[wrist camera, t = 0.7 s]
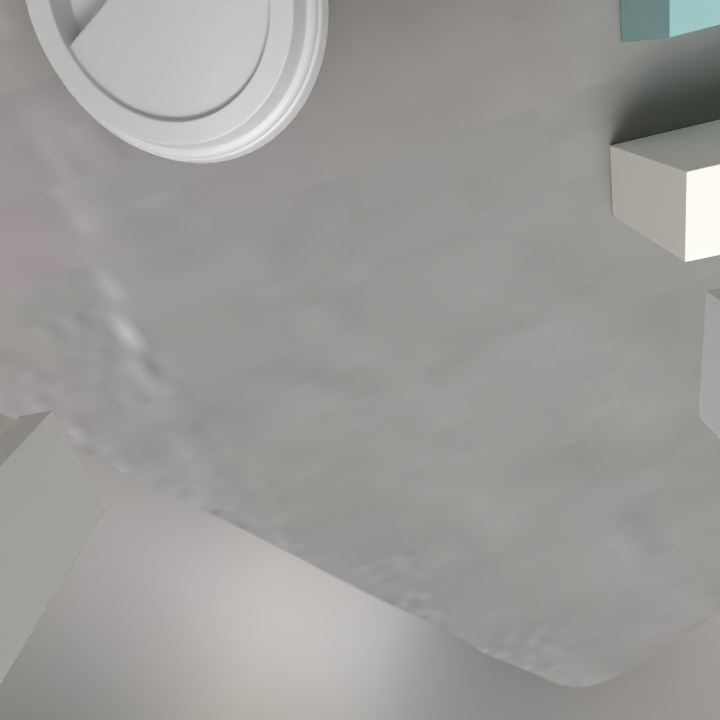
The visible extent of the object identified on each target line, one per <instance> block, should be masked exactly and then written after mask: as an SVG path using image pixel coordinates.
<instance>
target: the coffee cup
mask: <svg viewBox="0 0 720 720" xmlns="http://www.w3.org/2000/svg"><path fill="white" fill-rule="evenodd" d="M26 4H27V8H28V12H29V15H30V18H31V21H32V24H33V27H34V30H35V32H36V35H37V37H38V39H39V42H40V44H41V46H42V48H43V50H44V52H45V54H46V56H47V57H48V59H49V61H50V63H51V64H52V66H53V68H54V69H55V71H56V73H57V74H58V76H59V77H60V79H61V80H62V82H63V83H64V85H65V86H66V87H67V89H68V90H69V91H70V93H71V94H72V95H73V96H74V98H75V99H76V100H77V101H78V102H79V103H80V104H81V106H82V107H83V108H84V109H85V110H86V111H87V112H88V113H89V114H90V115H91V116H92V117H93V118H94V119H96V120H97V121H98V122H99V123H100V124H101V125H103V126H104V127H105V128H106V129H108V130H109V131H110V132H112V133H113V134H115V135H116V136H118V137H119V138H121V139H122V140H124V141H126V142H127V143H129V144H131V145H133V146H135V147H137V148H139V149H141V150H144V151H146V152H149V153H151V154H154V155H157V156H160V157H163V158H167V159H170V160H175V161H181V162H188V163H213V162H220V161H226V160H230V159H234V158H237V157H240V156H243V155H245V154H248V153H250V152H252V151H254V150H256V149H258V148H260V147H261V146H263V145H265V144H266V143H268V142H269V141H270V140H272V139H273V138H274V137H276V136H277V135H278V134H279V133H280V132H281V131H282V130H283V129H284V128H285V127H286V126H287V125H288V124H289V123H290V122H291V121H292V120H293V119H294V117H295V116H296V115H297V113H298V112H299V111H300V109H301V108H302V106H303V105H304V103H305V101H306V100H307V98H308V96H309V94H310V92H311V90H312V88H313V86H314V84H315V81H316V79H317V76H318V73H319V70H320V67H321V64H322V60H323V56H324V52H325V47H326V41H327V33H328V18H329V7H328V0H26Z"/></svg>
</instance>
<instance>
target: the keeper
mask: <svg viewBox="0 0 720 720" xmlns="http://www.w3.org/2000/svg"><path fill="white" fill-rule="evenodd" d="M719 24H720V0H621V33H622V42H631V41H640V40H650V39H660V38H669V37H673V36H677V35H681V34H685V33H689V32H692V31H696V30H700V29H704V28H708V27H712V26H715V25H719Z"/></svg>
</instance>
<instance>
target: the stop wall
mask: <svg viewBox="0 0 720 720" xmlns="http://www.w3.org/2000/svg"><path fill="white" fill-rule="evenodd" d="M610 161H611V186H612V211H613V216H614V217H616V218H617V219H619V220H621V221H622V222H624V223H625V224H627V225H628V226H630V227H631V228H633V229H635V230H636V231H638V232H639V233H641V234H642V235H644V236H645V237H647V238H649V239H650V240H652V241H653V242H655V243H656V244H658V245H660V246H661V247H663V248H664V249H666V250H667V251H669V252H670V253H672V254H674V255H675V256H677V257H678V258H680V259H681V260H683V261H684V262H687V261H692V260H696V259H701V258H706V257H711V256H716V255H720V119H719V120H715V121H711V122H707V123H703V124H698V125H694V126H690V127H686V128H682V129H677V130H673V131H669V132H665V133H661V134H656V135H652V136H648V137H644V138H640V139H635V140H631V141H627V142H623V143H619V144H614V145H610Z"/></svg>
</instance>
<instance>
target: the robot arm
mask: <svg viewBox="0 0 720 720" xmlns="http://www.w3.org/2000/svg"><path fill="white" fill-rule="evenodd" d="M698 416H699V417H700V418H701V419H702V420H703V421H704V422H705V423H706V425H707V426H708V427H709V428H710V429H711V430H712V431H713V432H714V434H715V435H716V436H717V437H718V438H719V439H720V289H715V290H710V291H707V294H706V309H705V324H704V338H703V353H702V368H701V383H700V398H699V413H698ZM105 510H106V506H105V504H104V502H103V500H102V498H101V497H100V495H99V493H98V491H97V490H96V488H95V486H94V485H93V483H92V481H91V479H90V477H89V476H88V474H87V472H86V470H85V468H84V467H83V465H82V463H81V461H80V459H79V457H78V456H77V454H76V452H75V451H74V449H73V447H72V445H71V443H70V441H69V440H68V438H67V436H66V434H65V433H64V431H63V429H62V427H61V425H60V424H59V422H58V420H57V418H56V417H55V415H54V413H53V411H47V412H42V413H36V414H31V415H25V416H20V417H19V418H18V419H17V420H16V421H15V422H14V423H13V424H12V425H11V426H10V427H9V428H8V429H7V430H6V431H5V432H4V433H3V434H2V435H1V436H0V683H1V682H2V680H3V678H4V677H5V675H6V673H7V672H8V670H9V669H10V667H11V665H12V664H13V662H14V660H15V658H16V656H17V655H18V654H19V652H20V650H21V649H22V647H23V645H24V644H25V642H26V640H27V639H28V637H29V636H30V634H31V632H32V631H33V629H34V627H35V626H36V624H37V622H38V621H39V619H40V617H41V616H42V614H43V612H44V611H45V609H46V607H47V606H48V604H49V602H50V601H51V599H52V598H53V596H54V594H55V593H56V591H57V589H58V588H59V586H60V584H61V583H62V581H63V579H64V578H65V576H66V574H67V573H68V571H69V570H70V568H71V566H72V565H73V563H74V561H75V560H76V558H77V556H78V555H79V553H80V551H81V549H82V548H83V546H84V545H85V543H86V541H87V540H88V538H89V537H90V535H91V533H92V532H93V530H94V528H95V527H96V525H97V523H98V521H99V520H100V518H101V517H102V515H103V513H104V512H105Z"/></svg>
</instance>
